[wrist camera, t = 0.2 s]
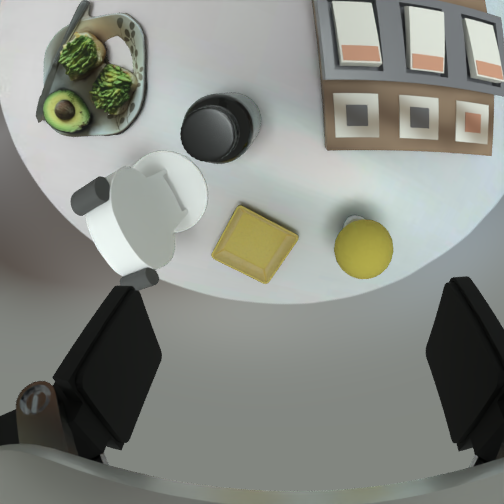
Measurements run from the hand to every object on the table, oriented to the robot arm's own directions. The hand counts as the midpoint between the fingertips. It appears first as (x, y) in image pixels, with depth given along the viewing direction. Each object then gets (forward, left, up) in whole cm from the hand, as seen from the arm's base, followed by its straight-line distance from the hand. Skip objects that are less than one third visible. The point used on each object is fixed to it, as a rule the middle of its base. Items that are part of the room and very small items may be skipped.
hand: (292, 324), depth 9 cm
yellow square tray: (+13, -6, -32) cm, 35 cm away
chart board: (-10, +15, -31) cm, 36 cm away
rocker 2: (-12, +15, -26) cm, 32 cm away
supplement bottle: (-3, -7, -31) cm, 32 cm away
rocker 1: (-12, +7, -26) cm, 29 cm away
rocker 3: (-12, +22, -26) cm, 36 cm away
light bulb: (+11, +7, -31) cm, 34 cm away
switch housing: (-12, +15, -29) cm, 35 cm away
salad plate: (-12, -25, -32) cm, 42 cm away
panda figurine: (+5, -17, -31) cm, 36 cm away
